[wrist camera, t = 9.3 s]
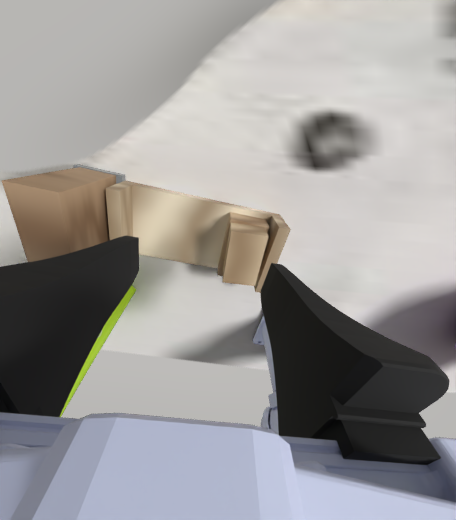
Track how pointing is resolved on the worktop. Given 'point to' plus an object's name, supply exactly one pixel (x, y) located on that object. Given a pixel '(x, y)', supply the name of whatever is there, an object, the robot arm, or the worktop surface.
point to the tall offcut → (60, 211)
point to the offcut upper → (244, 253)
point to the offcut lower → (232, 219)
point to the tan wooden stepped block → (184, 225)
